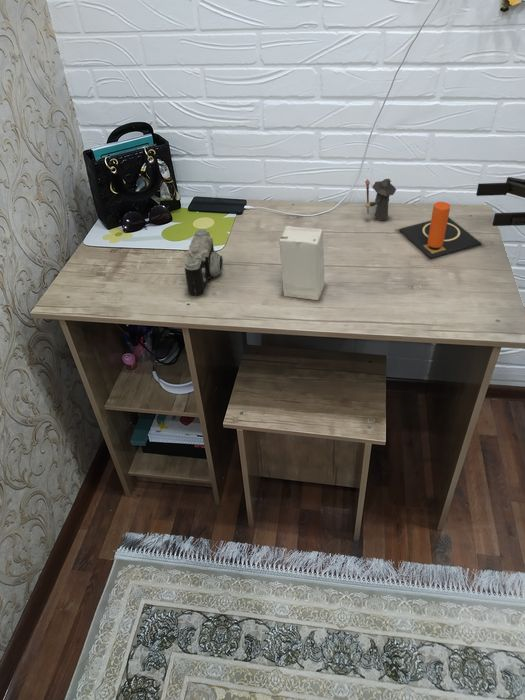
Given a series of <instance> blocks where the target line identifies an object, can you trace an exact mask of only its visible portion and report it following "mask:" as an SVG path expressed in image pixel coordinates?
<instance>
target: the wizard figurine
mask: <svg viewBox="0 0 525 700" xmlns="http://www.w3.org/2000/svg"><path fill="white" fill-rule="evenodd" d="M391 182H392V180H391V179H390V178H384V179H383V180H380V181H379V180H377V181H375V182H374V183H373V185H372V189H373V190H374V191H375V193H376V195H375V199H374V201H370V202H369V200H370V197H369V196H370V184H371V183H370V180H369V179H366V180H365V182H364V183H365V186H366V188H365V189H366V204H365V208H366V209H367V211H366V212H367V213H369V208H372V207H375V206H376V208H375V211H374V215H373V216H374V219H375V220H377V221H387V220H388V218H389V202H390V196H393V195H394V194H395V192H396V191H397V188H396V187H395V186H394V185H393V183H391Z"/></svg>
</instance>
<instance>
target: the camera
mask: <svg viewBox="0 0 525 700" xmlns="http://www.w3.org/2000/svg"><path fill="white" fill-rule="evenodd" d="M186 257H187V258H186V261H185V263H184V266H183V268H184V273H185V279H186V284H187V291H188V295H189V296H190V297H193V298H198V297H203V296H204V294H205V291H206V289H207V284H208V282H209V279H211V278H214V277H217V276H218V275H220V274H222V273H223V269H224V259H223V256H222V255H221V254H219V253H218V252H217V251H215V249H214V240H213V238H212V237H211V234H210V231H208V230H207V229H205V228H199V229H197V230H196V231H195V232H194V234H193V237H192V240H191V241H190V244H189V247H188V251H187V254H186Z"/></svg>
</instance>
